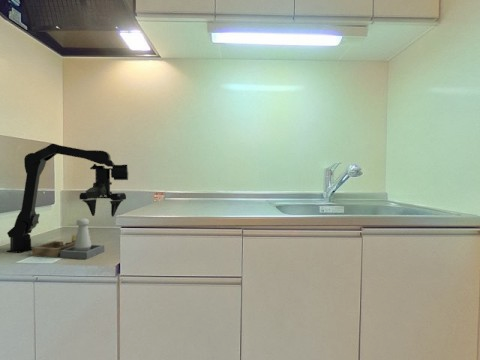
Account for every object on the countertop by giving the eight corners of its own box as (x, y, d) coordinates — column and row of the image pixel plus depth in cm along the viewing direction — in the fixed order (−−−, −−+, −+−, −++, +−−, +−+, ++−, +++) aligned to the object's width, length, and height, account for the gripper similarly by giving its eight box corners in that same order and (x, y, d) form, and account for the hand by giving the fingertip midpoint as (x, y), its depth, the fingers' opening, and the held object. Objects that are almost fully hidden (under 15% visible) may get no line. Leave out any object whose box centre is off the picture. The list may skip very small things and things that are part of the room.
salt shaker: (86, 249, 123) (87, 217, 123) (93, 251, 120) (94, 218, 119) (71, 251, 119) (71, 218, 118) (78, 254, 115) (78, 220, 115)
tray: (60, 257, 115) (60, 250, 115) (79, 249, 126) (79, 243, 126) (86, 259, 113) (86, 252, 113) (104, 251, 124) (104, 245, 124)
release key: (59, 249, 125) (59, 238, 125) (74, 244, 134) (74, 234, 134) (66, 250, 125) (66, 239, 125) (80, 244, 134) (80, 234, 134)
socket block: (32, 255, 116) (32, 247, 116) (54, 248, 128) (54, 241, 127) (57, 257, 115) (57, 249, 115) (77, 249, 126) (77, 242, 126)
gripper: (70, 180, 124) (70, 218, 125) (111, 181, 121) (112, 219, 122) (87, 179, 135) (88, 214, 136) (126, 180, 132) (126, 215, 133)
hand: (103, 216), depth 131 cm, fingers open, 9 cm apart
